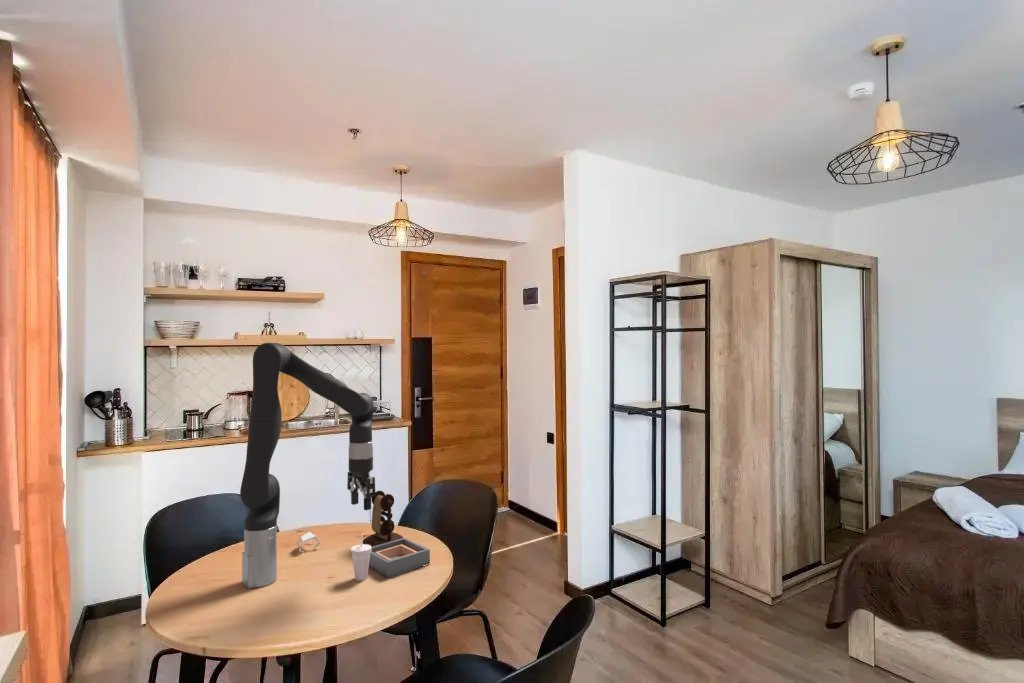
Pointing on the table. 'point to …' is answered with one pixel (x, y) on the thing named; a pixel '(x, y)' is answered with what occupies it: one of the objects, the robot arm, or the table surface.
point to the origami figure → (308, 537)
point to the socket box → (398, 557)
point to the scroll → (382, 520)
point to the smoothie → (361, 560)
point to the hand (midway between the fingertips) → (361, 506)
